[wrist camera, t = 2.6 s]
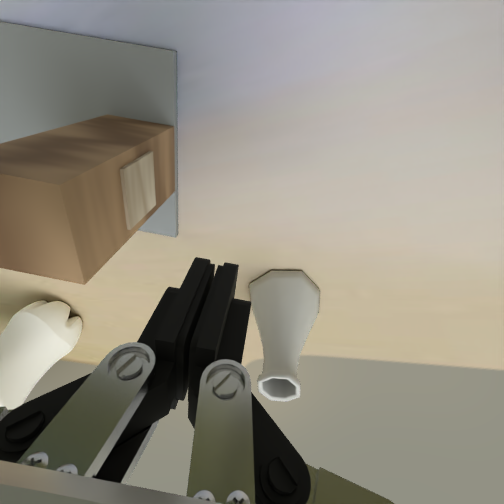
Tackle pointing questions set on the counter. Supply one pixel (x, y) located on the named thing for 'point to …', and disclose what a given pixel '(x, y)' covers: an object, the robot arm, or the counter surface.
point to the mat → (86, 89)
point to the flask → (283, 328)
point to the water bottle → (34, 347)
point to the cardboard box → (81, 193)
